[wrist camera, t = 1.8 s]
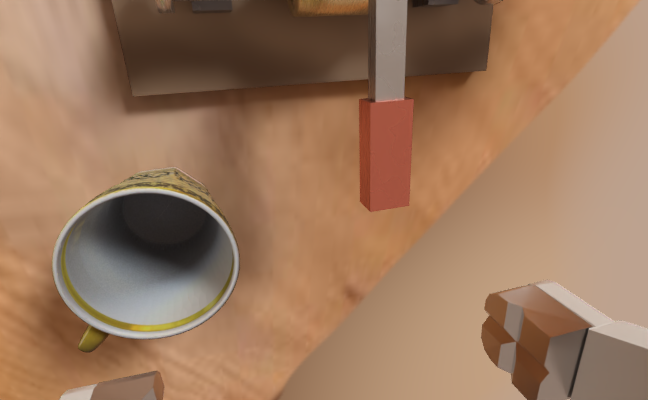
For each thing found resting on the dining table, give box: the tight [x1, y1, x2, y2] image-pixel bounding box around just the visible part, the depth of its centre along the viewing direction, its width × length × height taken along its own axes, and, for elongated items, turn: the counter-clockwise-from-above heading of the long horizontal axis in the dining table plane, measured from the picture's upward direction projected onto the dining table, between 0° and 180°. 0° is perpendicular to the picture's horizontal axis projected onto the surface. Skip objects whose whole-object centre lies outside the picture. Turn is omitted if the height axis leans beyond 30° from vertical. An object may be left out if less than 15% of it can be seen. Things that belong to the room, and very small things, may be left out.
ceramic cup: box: [52, 167, 240, 352], centre depth 27 cm, size 13×10×10 cm
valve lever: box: [359, 0, 414, 212], centre depth 21 cm, size 14×3×4 cm, turn 4°
